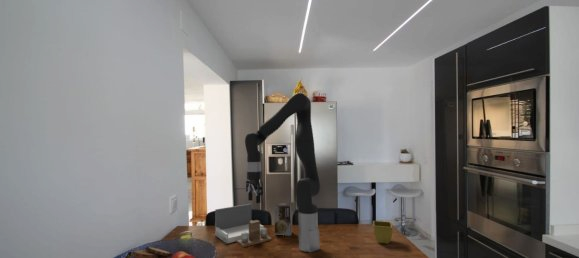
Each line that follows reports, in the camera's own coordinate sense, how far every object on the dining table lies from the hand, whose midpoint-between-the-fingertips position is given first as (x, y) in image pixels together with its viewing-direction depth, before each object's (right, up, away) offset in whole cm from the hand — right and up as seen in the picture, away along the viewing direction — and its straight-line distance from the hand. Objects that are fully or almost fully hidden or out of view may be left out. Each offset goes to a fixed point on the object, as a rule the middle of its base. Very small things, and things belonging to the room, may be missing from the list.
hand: (254, 201), depth 135 cm
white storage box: (-9, -21, +8) cm, 24 cm away
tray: (0, -20, -1) cm, 20 cm away
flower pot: (+66, -19, -5) cm, 69 cm away
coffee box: (+15, -21, +9) cm, 27 cm away
